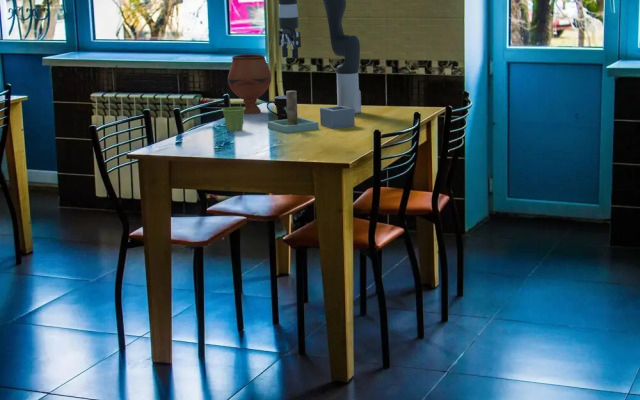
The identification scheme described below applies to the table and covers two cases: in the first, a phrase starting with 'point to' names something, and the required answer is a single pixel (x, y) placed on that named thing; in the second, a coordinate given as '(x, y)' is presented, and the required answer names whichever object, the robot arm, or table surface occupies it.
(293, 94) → the dowel
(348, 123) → the blue storage bin
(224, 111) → the plant pot
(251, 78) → the goblet
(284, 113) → the coffee mug
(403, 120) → the table surface
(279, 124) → the tray
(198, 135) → the table surface
